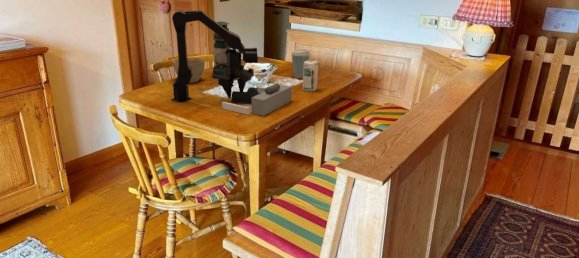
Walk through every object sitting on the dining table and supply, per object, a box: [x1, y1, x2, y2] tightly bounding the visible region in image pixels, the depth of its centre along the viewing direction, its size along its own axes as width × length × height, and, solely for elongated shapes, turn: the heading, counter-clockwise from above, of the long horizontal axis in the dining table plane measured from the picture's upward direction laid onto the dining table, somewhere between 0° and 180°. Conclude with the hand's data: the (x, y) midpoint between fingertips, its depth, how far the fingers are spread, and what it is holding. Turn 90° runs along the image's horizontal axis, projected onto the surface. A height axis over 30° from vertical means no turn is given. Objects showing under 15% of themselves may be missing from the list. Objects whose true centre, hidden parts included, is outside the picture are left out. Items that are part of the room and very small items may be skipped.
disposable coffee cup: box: [291, 49, 311, 79], centre depth 237 cm, size 11×11×15 cm
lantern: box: [211, 20, 232, 80], centre depth 231 cm, size 19×14×30 cm
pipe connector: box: [230, 86, 261, 104], centre depth 199 cm, size 12×5×15 cm
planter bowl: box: [172, 56, 206, 84], centre depth 224 cm, size 16×16×11 cm
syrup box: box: [302, 59, 319, 93], centre depth 215 cm, size 6×6×14 cm
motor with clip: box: [221, 82, 293, 117], centre depth 193 cm, size 29×20×10 cm
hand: (235, 95), depth 200 cm, fingers open, 9 cm apart
